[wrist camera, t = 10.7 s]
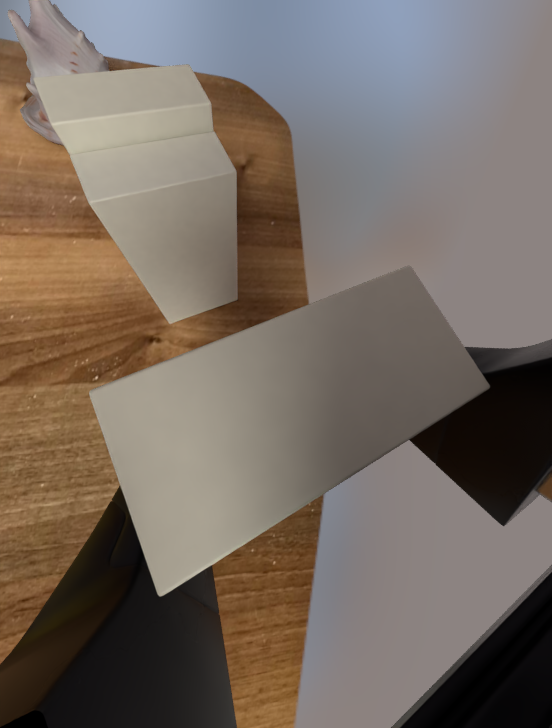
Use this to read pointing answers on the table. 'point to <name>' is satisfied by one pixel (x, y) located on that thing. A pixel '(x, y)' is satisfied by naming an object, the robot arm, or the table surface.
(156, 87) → the white books
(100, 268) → the table surface
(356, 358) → the white book
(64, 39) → the seashell
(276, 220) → the table surface
